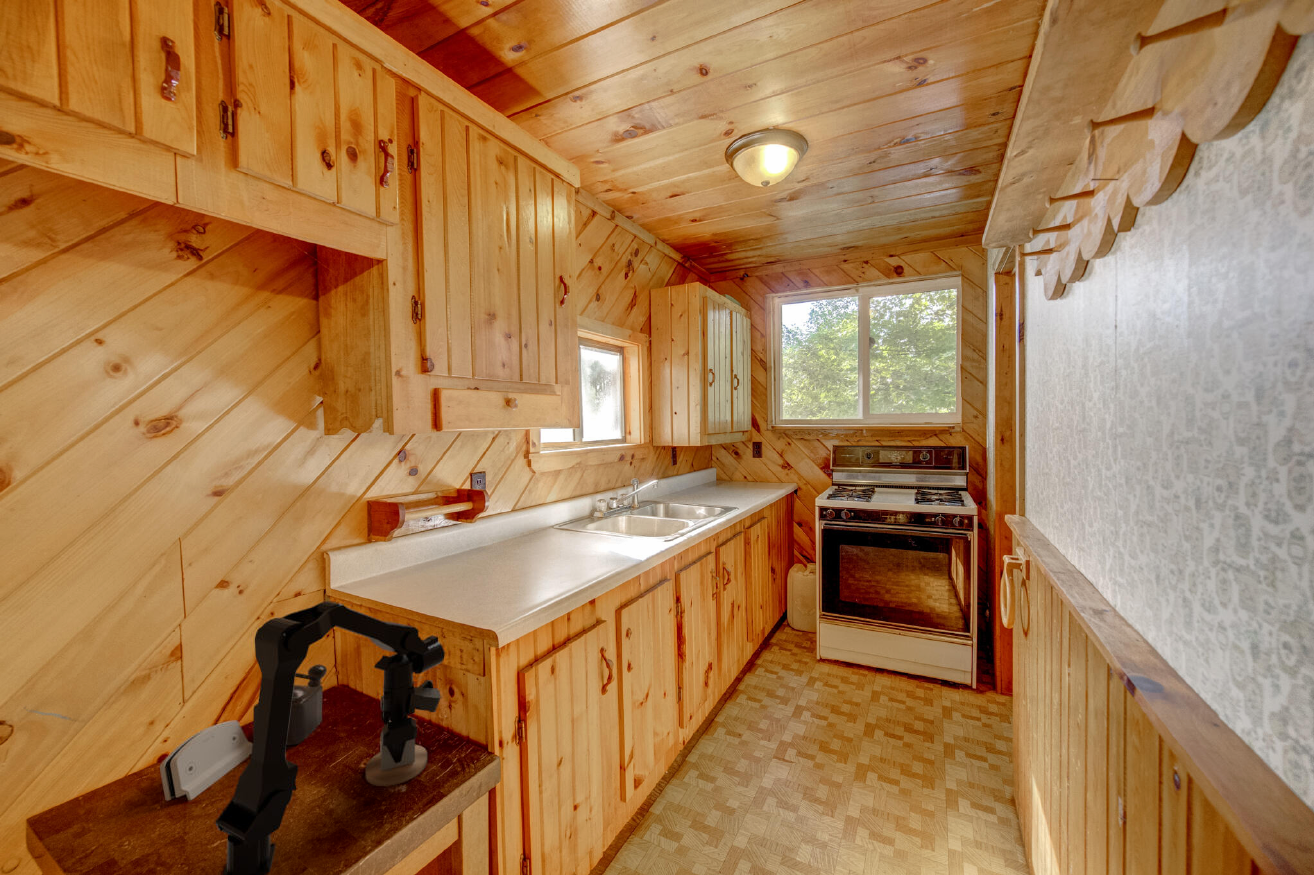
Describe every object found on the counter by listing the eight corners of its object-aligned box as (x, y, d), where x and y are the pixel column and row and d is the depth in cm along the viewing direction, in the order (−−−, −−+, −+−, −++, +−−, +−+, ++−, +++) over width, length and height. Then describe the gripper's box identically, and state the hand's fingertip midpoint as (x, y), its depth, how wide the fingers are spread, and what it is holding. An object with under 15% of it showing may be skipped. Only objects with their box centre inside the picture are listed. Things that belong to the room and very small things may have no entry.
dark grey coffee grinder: (248, 749, 118) (249, 671, 118) (279, 722, 129) (280, 651, 129) (319, 746, 119) (321, 669, 119) (344, 720, 130) (345, 649, 130)
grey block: (414, 762, 111) (415, 739, 111) (381, 771, 108) (381, 747, 108) (412, 746, 117) (412, 724, 117) (380, 754, 113) (380, 732, 113)
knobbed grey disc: (429, 775, 110) (430, 751, 110) (365, 793, 104) (365, 768, 104) (424, 745, 120) (424, 724, 120) (365, 760, 114) (365, 738, 114)
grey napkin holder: (189, 801, 101) (173, 753, 101) (166, 809, 101) (150, 760, 101) (257, 750, 118) (243, 708, 118) (237, 756, 118) (224, 715, 118)
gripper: (443, 692, 108) (442, 767, 108) (433, 659, 124) (432, 723, 124) (383, 705, 102) (382, 783, 102) (381, 668, 119) (380, 736, 119)
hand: (397, 754), depth 112 cm, fingers closed on grey block, 6 cm apart
